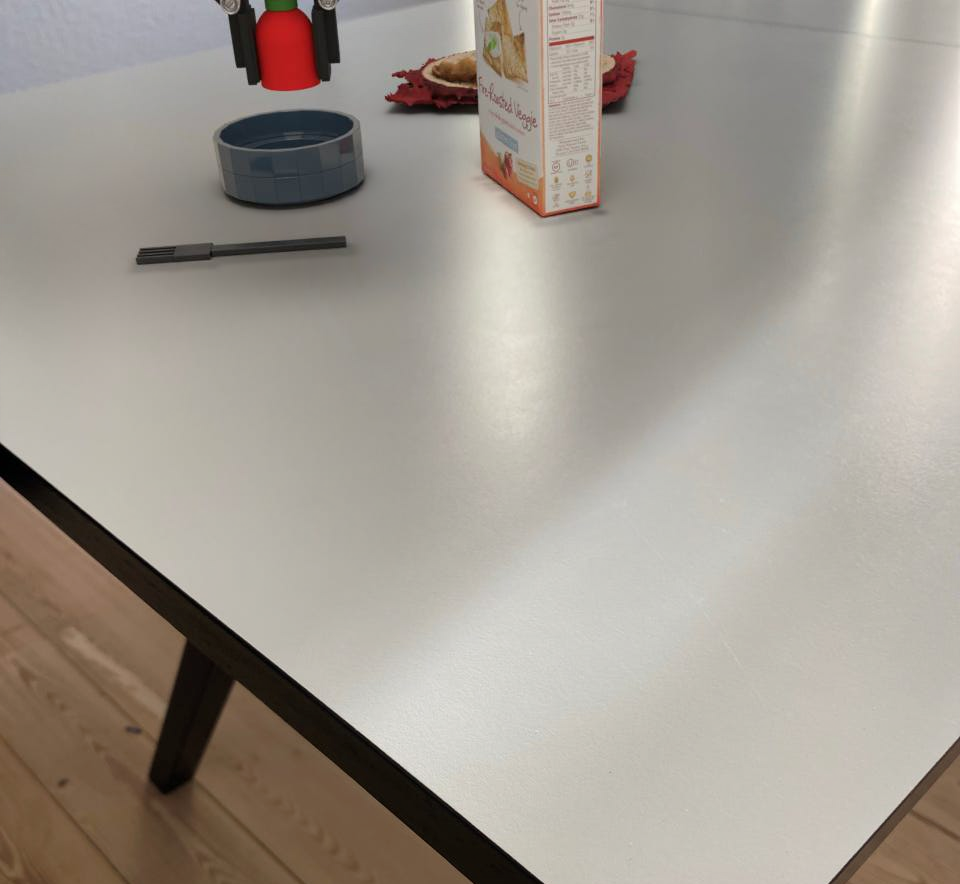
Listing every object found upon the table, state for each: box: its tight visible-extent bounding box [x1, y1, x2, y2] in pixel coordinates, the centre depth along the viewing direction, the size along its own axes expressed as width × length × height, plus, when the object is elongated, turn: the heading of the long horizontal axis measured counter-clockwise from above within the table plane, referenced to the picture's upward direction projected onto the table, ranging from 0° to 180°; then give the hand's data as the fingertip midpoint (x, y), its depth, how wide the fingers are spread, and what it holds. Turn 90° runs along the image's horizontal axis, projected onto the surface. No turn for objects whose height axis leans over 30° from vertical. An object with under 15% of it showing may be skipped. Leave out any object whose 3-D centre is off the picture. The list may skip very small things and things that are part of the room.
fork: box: [135, 235, 347, 265], centre depth 92 cm, size 2×17×1 cm, turn 95°
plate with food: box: [384, 49, 638, 110], centre depth 127 cm, size 24×26×3 cm
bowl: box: [212, 108, 366, 206], centre depth 103 cm, size 13×13×5 cm
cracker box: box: [472, 0, 605, 217], centre depth 94 cm, size 14×6×21 cm, turn 22°
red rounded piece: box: [255, 0, 322, 92], centre depth 70 cm, size 4×4×5 cm
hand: (290, 75), depth 71 cm, fingers closed on red rounded piece, 3 cm apart
